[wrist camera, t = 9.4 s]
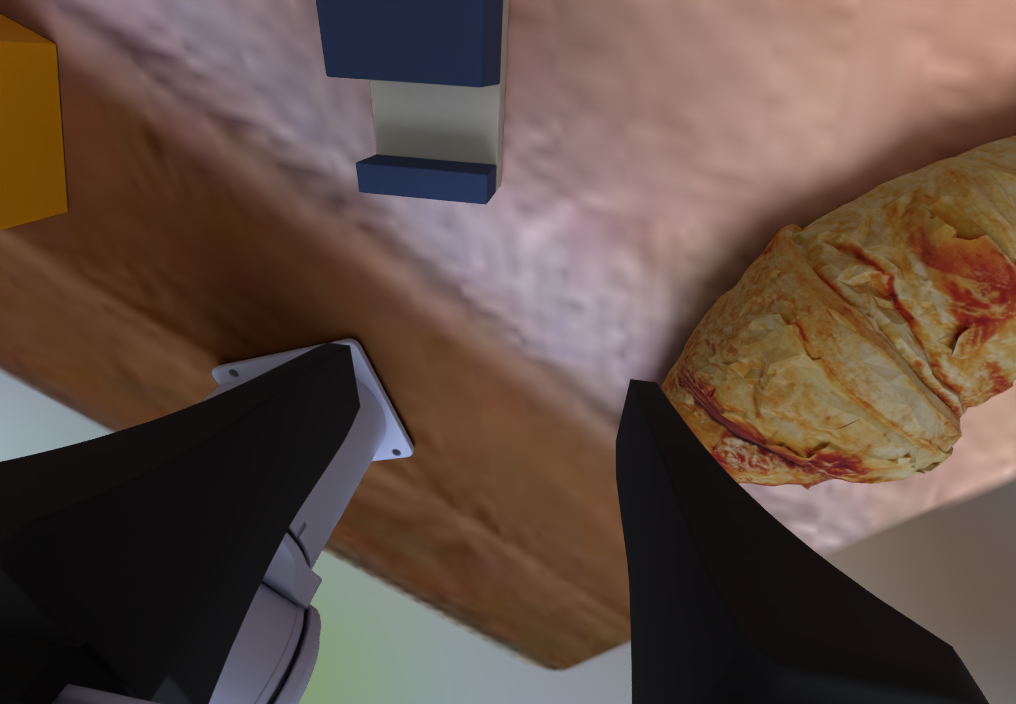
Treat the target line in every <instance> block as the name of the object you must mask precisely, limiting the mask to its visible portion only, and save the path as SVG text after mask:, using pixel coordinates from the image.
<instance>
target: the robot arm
mask: <svg viewBox="0 0 1016 704" xmlns="http://www.w3.org/2000/svg"><path fill="white" fill-rule="evenodd" d="M236 371H237V372H236ZM212 375H213V377H214V378H215V380H216V381H217V382H218V384H219V385H220V386H219V387H218V388H217V389H215V390H214V391H213V392H212V393H211V394H210V395H208V396H207V397H206V398H205V399H204V400H203V401H201V402H200V403H198V404H195V405H193V406H190V407H188V408H185V409H183V410H180V411H177V412H175V413H172V414H169V415H167V416H164V417H161V418H158V419H156V420H153V421H150V422H147V423H143V424H140V425H137V426H134V427H131V428H128V429H124V430H121V431H118V432H115V433H112V434H109V435H105V436H102V437H99V438H95V439H92V440H88V441H85V442H81V443H77V444H74V445H70V446H66V447H62V448H58V449H54V450H50V451H46V452H42V453H38V454H34V455H29V456H25V457H20V458H16V459H12V460H7V461H2V462H0V704H298V703H299V701H300V699H301V697H302V695H303V693H304V691H305V689H306V687H307V685H308V682H309V680H310V677H311V675H312V672H313V669H314V666H315V663H316V659H317V655H318V650H319V637H320V629H321V621H320V615H319V613H318V611H317V609H316V608H314V607H313V606H312V605H310V602H311V600H312V598H313V596H314V594H315V593H316V591H317V589H318V587H319V585H320V583H321V581H322V579H321V578H320V577H319V576H318V575H317V574H315V573H314V572H313V571H312V570H311V569H312V567H313V566H314V564H315V562H316V560H317V558H318V557H319V555H320V553H321V551H322V550H323V548H324V546H325V544H326V542H327V541H328V539H329V537H330V535H331V533H332V532H333V530H334V528H335V526H336V524H337V523H338V521H339V519H340V517H341V515H342V514H343V512H344V510H345V508H346V506H347V504H348V503H349V501H350V499H351V497H352V495H353V494H354V492H355V490H356V488H357V486H358V485H359V483H360V481H361V479H362V477H363V476H364V474H365V472H366V470H367V468H368V467H369V465H370V463H371V461H377V460H386V459H395V458H403V457H409V456H411V455H412V453H413V451H414V446H413V444H412V442H411V440H410V439H409V437H408V435H407V433H406V431H405V429H404V427H403V425H402V423H401V421H400V419H399V418H398V416H397V414H396V412H395V410H394V408H393V406H392V404H391V402H390V400H389V398H388V397H387V395H386V393H385V391H384V389H383V387H382V385H381V383H380V381H379V379H378V377H377V376H376V374H375V372H374V370H373V368H372V366H371V364H370V362H369V360H368V358H367V356H366V355H365V353H364V351H363V349H362V347H361V345H360V344H359V342H357V341H356V340H354V339H344V340H339V341H334V342H330V343H325V344H320V345H315V346H310V347H305V348H300V349H296V350H291V351H286V352H281V353H276V354H271V355H267V356H262V357H257V358H252V359H247V360H242V361H237V362H233V363H228V364H223V365H219V366H217V367H215V368H214V369H213V370H212ZM396 449H398V450H399V451H398V450H396ZM616 480H617V488H618V496H619V504H620V511H621V519H622V526H623V533H624V541H625V548H626V555H627V563H628V574H629V590H630V618H631V659H632V704H989V703H988V701H987V700H986V698H985V696H984V695H983V693H982V692H981V690H980V688H979V687H978V685H977V684H976V682H975V681H974V679H973V678H972V676H971V675H970V673H969V671H968V670H967V668H966V666H965V665H964V663H963V662H962V660H961V659H960V657H959V656H958V654H957V653H956V652H955V650H954V649H953V647H952V646H950V645H949V644H947V643H946V642H944V641H943V640H941V639H940V638H938V637H936V636H935V635H934V634H932V633H930V632H929V631H927V630H926V629H924V628H923V627H921V626H920V625H918V624H916V623H915V622H914V621H912V620H911V619H909V618H907V617H906V616H905V615H903V614H902V613H900V612H898V611H897V610H895V609H894V608H892V607H891V606H889V605H888V604H886V603H885V602H883V601H882V600H880V599H879V598H877V597H875V596H874V595H873V594H872V593H870V592H869V591H867V590H866V589H865V588H863V587H862V586H860V585H859V584H858V583H856V582H855V581H853V580H852V579H851V578H849V577H848V576H847V575H845V574H844V573H843V572H841V571H839V570H838V569H837V568H836V567H834V566H833V565H832V564H830V563H829V562H828V561H827V560H825V559H824V558H823V557H821V556H820V555H819V554H817V553H816V552H815V551H814V550H812V549H811V548H810V547H809V546H807V545H806V544H805V543H804V542H803V541H801V540H800V539H799V538H798V537H796V536H795V535H794V534H793V533H792V532H790V531H789V530H788V529H787V528H786V527H784V526H783V525H782V524H781V523H780V522H779V521H777V520H776V519H775V518H774V517H773V516H772V515H771V514H770V513H768V512H767V511H766V510H765V509H764V508H763V507H762V506H761V505H760V504H759V503H758V502H757V501H756V500H755V499H754V498H752V497H751V496H750V495H749V494H748V493H747V492H746V491H745V490H744V489H743V488H742V487H741V486H740V485H739V484H738V483H737V482H736V481H735V480H734V479H733V478H732V477H731V476H730V475H729V474H728V473H727V471H726V470H725V469H724V468H723V467H722V466H721V465H720V464H719V463H718V461H717V460H716V459H715V458H714V457H713V456H712V455H711V454H710V453H709V451H708V450H707V449H706V448H705V447H704V445H703V444H702V443H701V442H700V440H699V439H698V438H697V437H696V435H695V434H694V433H693V432H692V430H691V429H690V428H689V426H688V425H687V424H686V423H685V421H684V420H683V419H682V417H681V416H680V414H679V413H678V412H677V410H676V409H675V408H674V406H673V405H672V404H671V402H670V401H669V399H668V398H667V397H666V395H665V394H664V392H663V391H662V390H661V388H660V387H659V386H658V384H657V383H656V382H649V381H641V380H633V379H630V383H629V388H628V392H627V396H626V400H625V405H624V409H623V413H622V417H621V422H620V426H619V430H618V434H617V439H616Z"/></svg>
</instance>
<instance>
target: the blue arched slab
mask: <svg viewBox="0 0 1016 704" xmlns="http://www.w3.org/2000/svg"><path fill="white" fill-rule="evenodd" d="M316 4H317V11H318V18H319V26H320V33H321V40H322V47H323V54H324V61H325V69H326V75H327V76H328V77H339V78H353V79H368V80H370V89H371V100H372V110H373V121H374V131H375V142H376V152H377V155H374V156H372V157H369V158H367V159H364V160H361V161H359V162H356V168H357V176H358V185H359V191H360V192H364V193H374V194H384V195H395V196H405V197H415V198H425V199H436V200H446V201H456V202H467V203H477V204H487V203H488V202H489V200H490V199H491V198H492V196H493V195H494V194H495V192H496V191H497V190H498V188H499V187H500V186H501V174H502V152H503V129H504V107H505V84H506V62H507V40H508V17H509V0H316Z"/></svg>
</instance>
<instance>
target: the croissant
mask: <svg viewBox="0 0 1016 704" xmlns="http://www.w3.org/2000/svg"><path fill="white" fill-rule="evenodd" d="M1015 379H1016V136H1011V137H1007V138H1004V139H1000V140H996V141H993V142H990V143H987V144H984V145H981V146H979V147H976V148H973V149H971V150H969V151H967V152H964V153H962V154H960V155H958V156H956V157H954V158H952V157H951V158H947V159H943V160H939V161H935V162H933V163H931V164H929V165H927V166H925V167H923V168H921V169H919V170H916V171H914V172H911V173H908V174H906V175H902V176H899V177H897V178H894V179H892V180H890V181H887V182H885V183H882V184H880V185H878V186H877V187H875V188H874V189H872V190H871V191H869V192H868V193H866V194H864V195H862V196H860V197H859V198H857V199H855V200H853V201H851V202H849V203H847V204H844V205H842V206H840V207H839V208H837V209H835V210H833V211H831V212H830V213H828V214H826V215H824V216H822V217H821V218H819V219H817V220H815V221H814V222H812V223H811V224H809V225H808V226H807V227H806V228H804V229H802V228H800V227H799V226H797V225H796V224H792V225H787V226H785V227H783V228H781V229H779V230H778V231H777V233H776V234H775V236H774V237H773V239H772V240H771V241H770V243H769V244H768V245H767V247H766V248H765V250H764V251H763V252H762V254H761V255H760V256H759V257H758V258H757V259H756V260H755V261H754V262H753V263H752V264H751V265H750V266H749V268H748V269H747V270H746V271H745V272H744V274H743V276H742V278H741V279H740V281H739V282H738V283H737V285H736V286H735V287H733V288H732V289H730V290H729V291H727V292H725V293H724V294H723V295H721V296H720V297H719V298H718V299H717V301H716V302H715V303H714V304H713V305H712V307H711V308H710V309H709V310H708V312H707V313H706V314H705V316H704V317H703V318H702V320H701V321H700V322H699V324H698V325H697V327H696V328H695V329H694V331H693V333H692V334H691V336H690V337H689V339H688V341H687V342H686V344H685V346H684V350H683V352H682V354H681V356H680V358H679V359H678V361H677V362H676V363H675V365H674V366H673V367H672V368H671V370H670V371H669V372H668V375H667V377H666V379H665V381H664V382H663V384H662V386H661V387H660V388H661V390H662V391H663V392H664V394H665V395H666V397H667V398H668V399H669V401H670V402H671V404H672V405H673V406H674V408H675V409H676V410H677V412H678V413H679V414H680V416H681V417H682V419H683V420H684V421H685V423H686V424H687V425H688V426H689V428H690V429H691V430H692V432H693V433H694V434H695V435H696V437H697V438H698V439H699V440H700V442H701V443H702V444H703V445H704V447H705V448H706V449H707V450H708V451H709V453H710V454H711V455H712V456H713V457H714V458H715V459H716V460H717V461H718V463H719V464H720V465H721V466H722V467H723V468H724V469H725V470H726V471H727V473H728V474H729V475H730V476H731V477H732V478H733V479H734V480H735V481H736V482H737V483H738V484H739V483H752V484H757V485H764V486H778V485H784V484H799V485H802V486H803V487H805V488H806V489H807V490H808V489H809V488H810V487H811V486H814V485H816V484H818V483H820V482H823V481H827V480H831V479H841V480H845V481H848V482H853V483H870V484H872V483H879V482H887V481H896V480H903V479H905V478H906V477H908V476H910V475H914V474H924V473H925V472H928V471H931V470H933V469H934V468H936V467H937V466H939V465H940V464H941V463H942V462H943V461H945V460H946V459H947V458H948V457H949V456H950V455H951V454H952V451H953V448H952V446H953V445H954V444H955V443H956V442H957V441H958V439H959V438H960V437H961V436H962V434H961V429H960V417H961V416H962V415H963V414H964V413H965V411H966V410H967V408H968V407H976V406H978V405H980V404H982V403H984V402H986V401H987V400H989V399H990V398H991V397H993V396H996V395H998V394H1000V393H1003V392H1004V391H1006V390H1007V389H1009V388H1011V387H1012V386H1013V381H1014V380H1015Z"/></svg>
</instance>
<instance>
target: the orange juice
mask: <svg viewBox="0 0 1016 704" xmlns="http://www.w3.org/2000/svg"><path fill="white" fill-rule="evenodd" d="M65 212H68V207H67V192H66V178H65V164H64V150H63V136H62V122H61V108H60V94H59V79H58V65H57V51H56V44H55V43H53V42H51V41H49V40H47V39H46V38H44V37H42V36H40V35H38V34H36V33H35V32H33V31H31V30H29V29H27V28H26V27H24V26H22V25H20V24H18V23H16V22H15V21H13V20H11V19H9V18H7V17H6V16H4V15H2V14H0V230H3V229H6V228H10V227H14V226H17V225H21V224H25V223H28V222H32V221H36V220H39V219H43V218H47V217H50V216H54V215H58V214H61V213H65Z"/></svg>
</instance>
